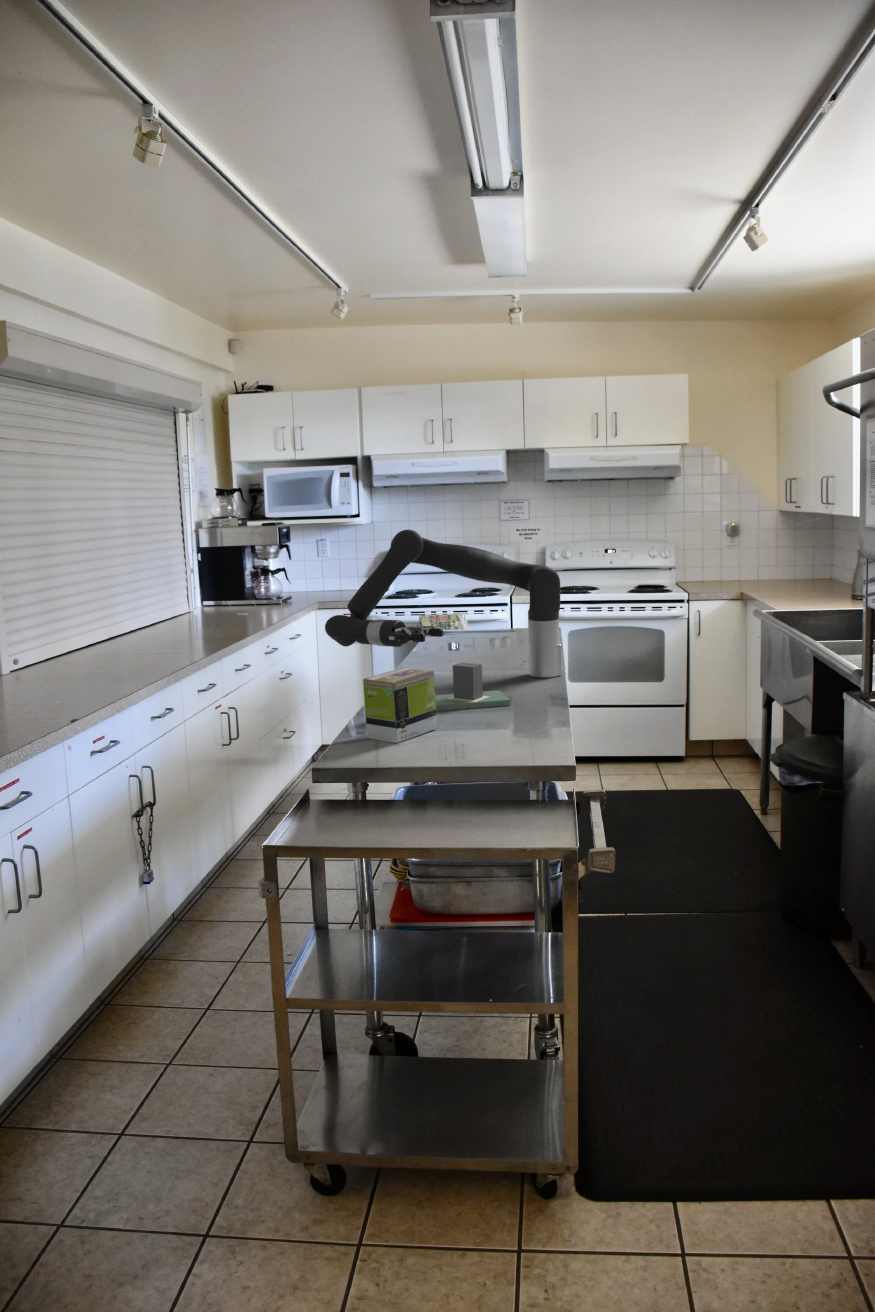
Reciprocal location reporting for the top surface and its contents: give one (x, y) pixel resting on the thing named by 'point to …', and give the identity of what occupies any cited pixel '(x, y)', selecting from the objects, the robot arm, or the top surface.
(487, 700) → the board
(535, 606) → the robot arm
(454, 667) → the dark grey rectangular block
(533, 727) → the top surface
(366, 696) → the tea box
